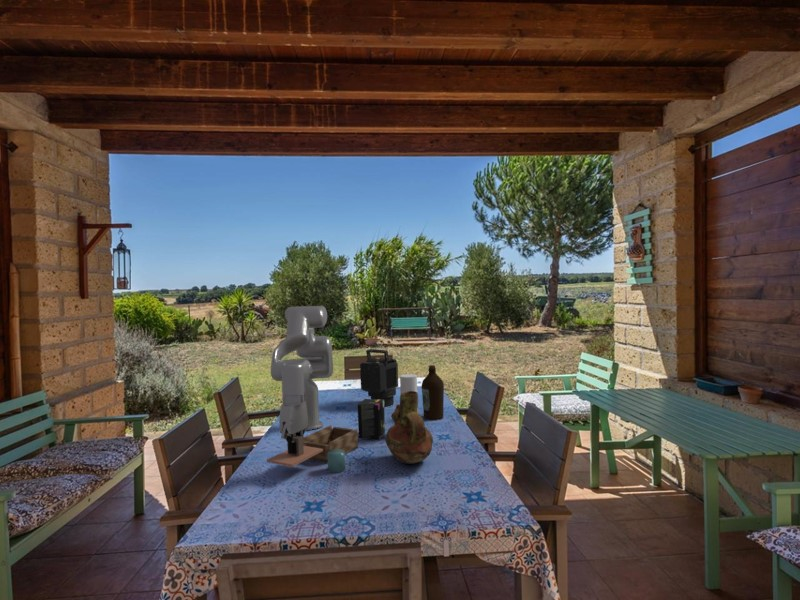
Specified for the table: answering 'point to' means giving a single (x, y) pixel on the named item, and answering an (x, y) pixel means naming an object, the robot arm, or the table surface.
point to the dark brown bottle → (433, 395)
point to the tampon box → (371, 419)
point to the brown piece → (297, 458)
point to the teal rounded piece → (336, 461)
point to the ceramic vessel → (408, 431)
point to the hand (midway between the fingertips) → (295, 451)
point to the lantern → (379, 377)
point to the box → (332, 441)
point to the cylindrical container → (408, 383)
